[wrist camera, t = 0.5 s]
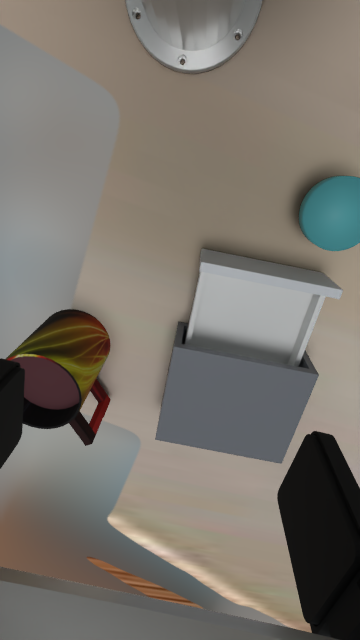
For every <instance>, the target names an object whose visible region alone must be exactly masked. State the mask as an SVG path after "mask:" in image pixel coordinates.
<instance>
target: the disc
mask: <svg viewBox="0 0 360 640" xmlns="http://www.w3.org/2000/svg"><path fill="white" fill-rule="evenodd" d="M299 224H300V228H301V230H302V232H303V234H304V235H305V237H306V238H307V239H308V240H309V241H311V242H312V243H314V244H315V245H317V246H318V247H320V248H322V249H325V250H329V251H341V250H345V249H348V248H351V247H353V246H355V245H357V244H358V243H360V178H358V177H353V176H333V177H330V178H327V179H324V180H322V181H320V182H319V183H317V184H316V185H315V186H314V187H312V188H311V189H310V191H309V192H308V193H307V194H306V196H305V197H304V199H303V201H302V204H301V207H300V210H299Z"/></svg>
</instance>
